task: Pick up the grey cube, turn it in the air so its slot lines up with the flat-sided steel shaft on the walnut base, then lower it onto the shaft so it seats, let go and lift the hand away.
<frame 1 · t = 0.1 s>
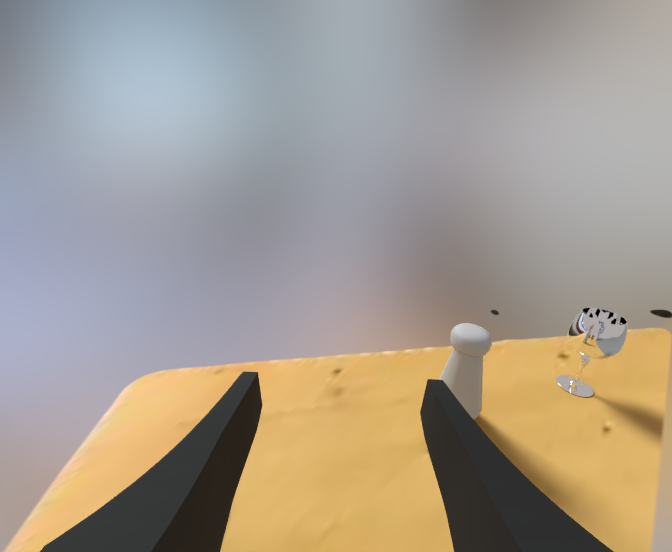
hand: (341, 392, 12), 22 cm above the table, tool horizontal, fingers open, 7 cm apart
wineglass: (573, 386, 43), on the table
salt shaker: (452, 415, 38), on the table
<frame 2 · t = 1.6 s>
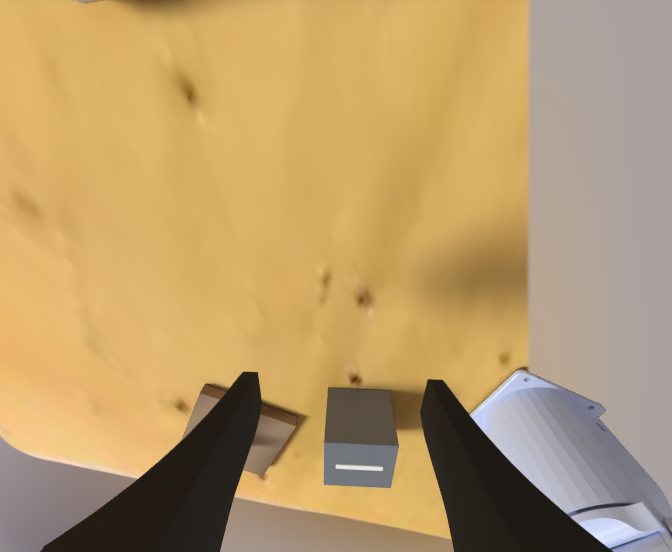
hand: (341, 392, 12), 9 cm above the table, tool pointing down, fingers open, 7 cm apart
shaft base: (238, 428, 28), on the table
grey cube: (357, 410, 26), on the table
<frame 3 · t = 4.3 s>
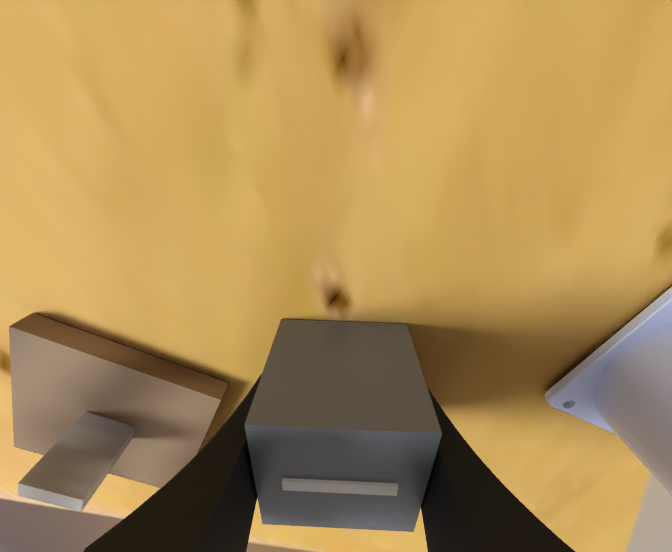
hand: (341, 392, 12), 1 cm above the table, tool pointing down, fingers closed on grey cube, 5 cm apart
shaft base: (123, 408, 15), on the table
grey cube: (341, 368, 13), on the table, touching gripper
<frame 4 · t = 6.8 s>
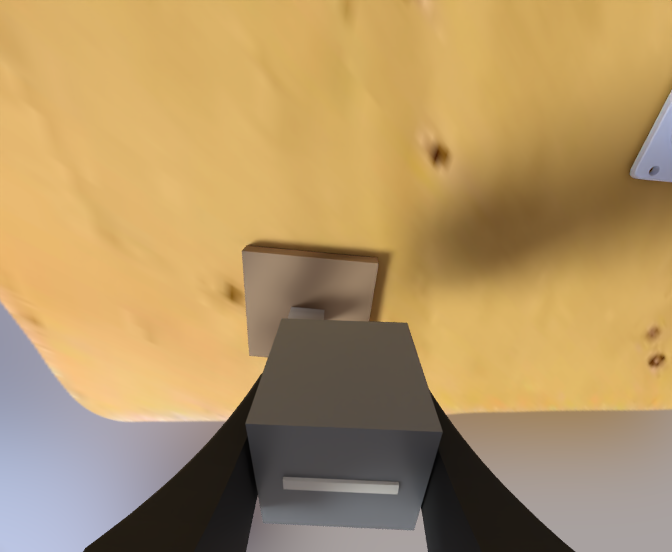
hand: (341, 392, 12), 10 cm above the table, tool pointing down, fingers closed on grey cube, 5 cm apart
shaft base: (309, 306, 22), on the table
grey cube: (342, 367, 13), point 8 cm above the table, touching gripper
when the fingers open (4 cm above the table, at t = 9.4 s): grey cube drops 1 cm, resting on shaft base.
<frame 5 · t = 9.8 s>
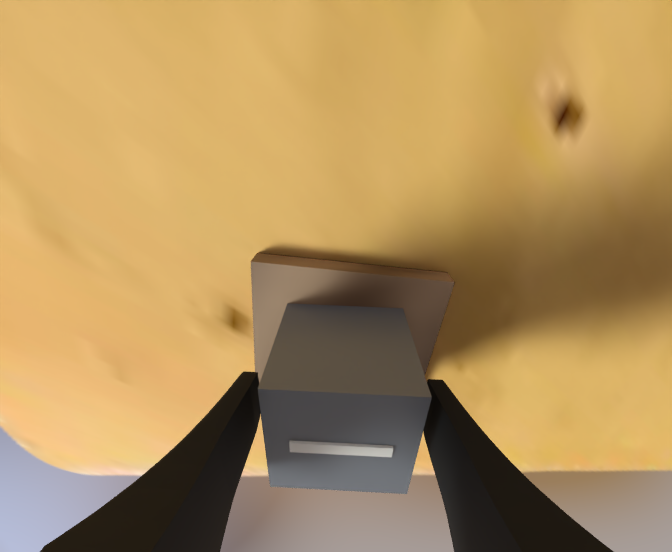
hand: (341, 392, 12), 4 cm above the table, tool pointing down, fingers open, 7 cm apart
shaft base: (342, 338, 15), on the table
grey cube: (342, 350, 15), point 1 cm above the table, touching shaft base
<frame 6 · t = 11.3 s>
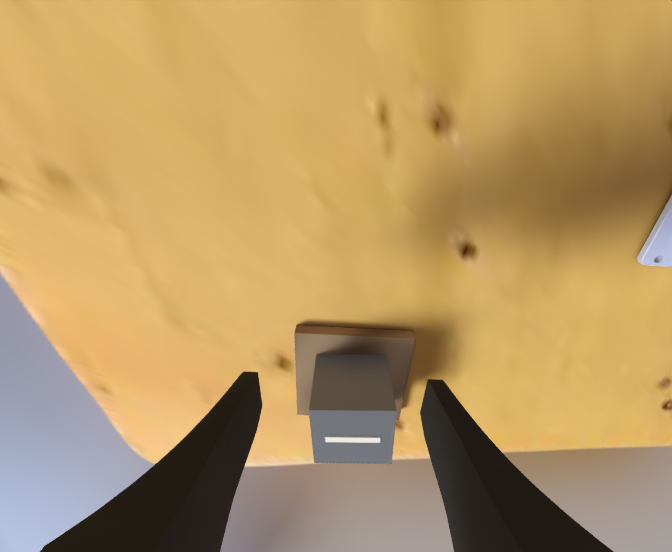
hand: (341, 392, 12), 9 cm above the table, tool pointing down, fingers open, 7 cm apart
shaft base: (350, 371, 24), on the table
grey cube: (351, 379, 23), point 1 cm above the table, touching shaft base
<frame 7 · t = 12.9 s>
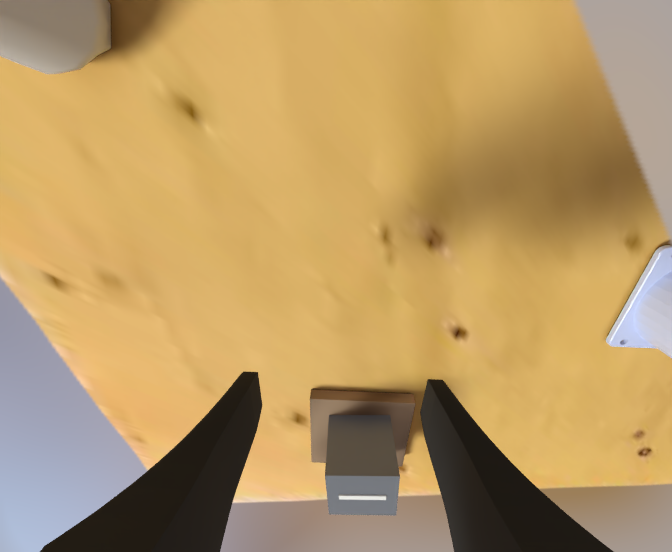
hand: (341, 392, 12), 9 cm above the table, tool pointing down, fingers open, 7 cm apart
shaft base: (359, 425, 27), on the table
salt shaker: (75, 13, 14), on the table
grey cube: (359, 434, 26), point 1 cm above the table, touching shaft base
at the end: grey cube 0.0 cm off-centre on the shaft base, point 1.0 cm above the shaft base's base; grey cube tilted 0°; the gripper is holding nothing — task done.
